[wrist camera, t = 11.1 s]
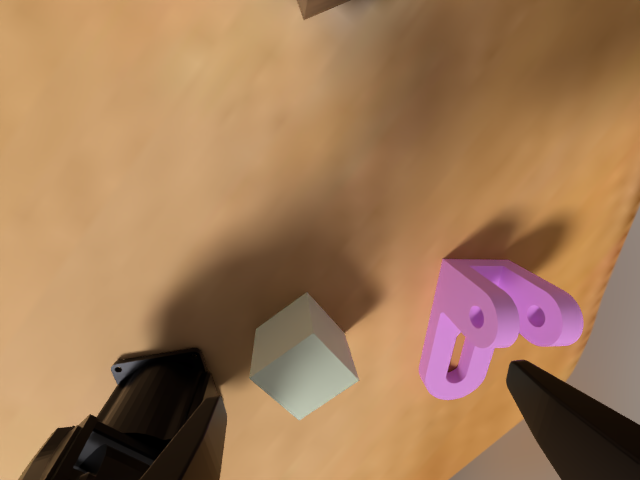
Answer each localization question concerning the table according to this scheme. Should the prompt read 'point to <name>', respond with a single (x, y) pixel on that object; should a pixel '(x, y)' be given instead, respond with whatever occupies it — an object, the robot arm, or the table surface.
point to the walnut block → (317, 6)
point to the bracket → (490, 320)
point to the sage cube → (302, 358)
